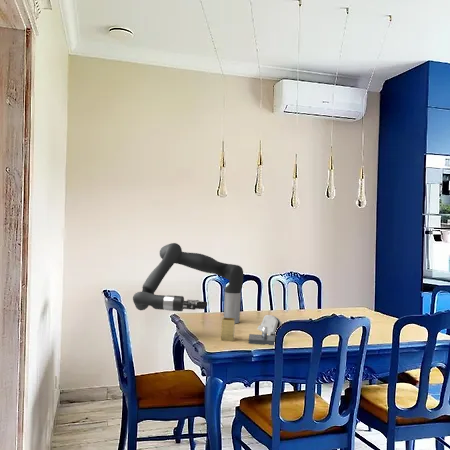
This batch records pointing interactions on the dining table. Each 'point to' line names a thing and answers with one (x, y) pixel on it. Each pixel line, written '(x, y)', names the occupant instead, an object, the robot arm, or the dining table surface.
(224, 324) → the tan rectangular block
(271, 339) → the shaft stand
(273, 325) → the hinge
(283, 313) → the dining table surface
